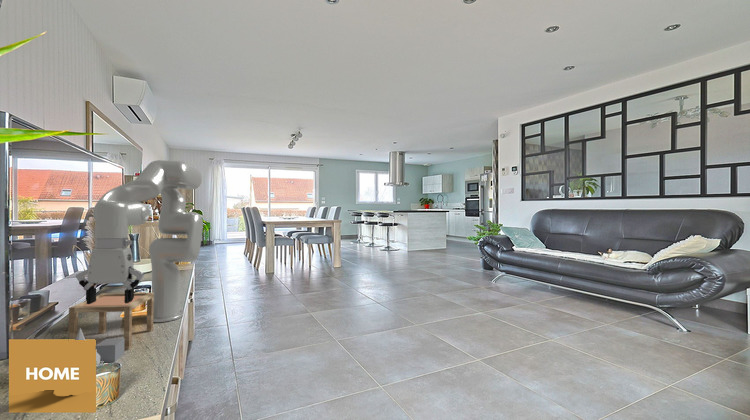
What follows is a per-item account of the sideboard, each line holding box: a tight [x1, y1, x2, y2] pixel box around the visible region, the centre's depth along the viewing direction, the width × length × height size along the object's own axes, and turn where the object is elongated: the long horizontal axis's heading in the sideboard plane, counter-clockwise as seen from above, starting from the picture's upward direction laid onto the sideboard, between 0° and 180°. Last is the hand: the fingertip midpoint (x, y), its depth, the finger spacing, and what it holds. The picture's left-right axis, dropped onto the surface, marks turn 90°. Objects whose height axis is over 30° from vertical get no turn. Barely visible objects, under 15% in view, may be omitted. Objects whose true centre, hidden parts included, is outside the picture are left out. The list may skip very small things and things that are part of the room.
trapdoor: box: [84, 296, 142, 306], centre depth 114 cm, size 12×13×1 cm
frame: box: [68, 292, 154, 351], centre depth 113 cm, size 16×16×14 cm
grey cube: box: [95, 337, 125, 363], centre depth 101 cm, size 5×5×5 cm
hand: (110, 302), depth 100 cm, fingers open, 9 cm apart
